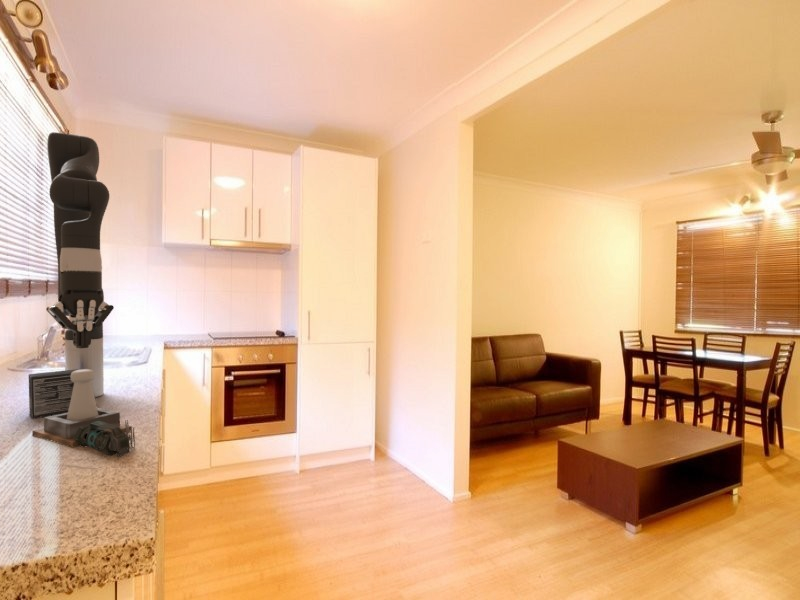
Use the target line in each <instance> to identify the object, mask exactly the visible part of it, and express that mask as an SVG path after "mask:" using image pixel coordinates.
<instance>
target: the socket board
mask: <svg viewBox="0 0 800 600" xmlns="http://www.w3.org/2000/svg"><path fill="white" fill-rule="evenodd" d="M97 411H98V416H95V417H91V418H86V419H82V420H78V421H70V420H67V415H68V413H63V414H58V415H52V416H46V417H43V427H42V428H37V429H34V430H32V436H34V437H37V438H41V439H44V440H47V439H48V440H47V441H50V440H52V441H51V442H54V441H55V442H54V443H57V442H58V443H57V444H60V443H61V444H60V445H63V444H64V446H67V445H68V446H67V447H70V446H71V447H70V448H75V447H78V445H79V444H78V443H77V442H76V441H75V440H74V436H75V434H76V432H77V430H78V429H79V427H81V426H85V425H88V424H90V423H93V422H96V421H101V422H105V423H108V424H112V425H115V426H118V427H120V429H121V430H122V431H123V432H124V433H126V427H125V423H124V424H122V423H121V415H120V414H121V413H120V411H115V410H110V409H107V408H101V407H97ZM98 428H99V429H103V430H106V431H110V432H111V430H110V429H106V428H103V427H100V426H98ZM131 428H132V429H133V427H132V425H129V432H131ZM127 431H128V428H127ZM79 446H80V445H79Z"/></svg>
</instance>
